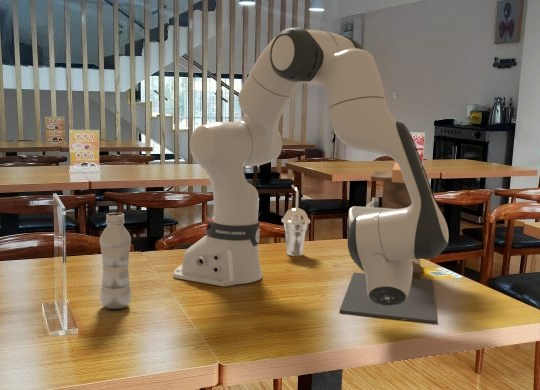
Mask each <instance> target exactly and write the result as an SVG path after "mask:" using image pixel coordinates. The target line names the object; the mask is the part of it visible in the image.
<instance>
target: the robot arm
mask: <svg viewBox="0 0 540 390" xmlns="http://www.w3.org/2000/svg"><path fill="white" fill-rule="evenodd" d="M374 58H375V57H374V56H373V55H372V54H371V53H370V52H369V51H367V50H365V49H364V48H363V46H362V45H361V44H360V43H359V42H358V41H356V40H355V39H354V38H352V37H349V36H348V35H347V36H346V35H340V34H337V33H335V32H331V31H327V30H316V29H304V28H302V27H291V28H285V29H283V30H281V31H280V32H278V33H277V34H276V35H275V37H274V38H273V39H272V40H271V41H270V42H269V43H268V44H267V45H266V47H264V50H263V51H262V52H261V53H260V54H259V57H258V58H257V60H256V61H255V62H254V64H253V67H252V68H251V70H250V72H249V74H248V76H247V77H246V79H245V80H244V84H243V85H242V87H241V88H240V90H239V93H238V96H237V99H238V104H239V105H238V106H239V108H240V109H241V111H242V112H243V116H242V118H240V120H237V121H214V122H210V123H206V124H202V125H199V126H197V127H196V128H195V129H194V130H193V132H192V134H191V136H190V140H189V150H190V154H191V155H192V158H193V160H194V161H195V162H196V163H197V164H198V165H199V166H201V168H203V170H204V171H205V173H206V175H207V176H208V179H209V181H210V184H211V189H212V194H213V218H212V219H210V220H209V222H207V223H206V225H204V229H203V230H205V231H206V232H205V233H206V235H204V236H203V237H201V238H200V239H199V240H198V241H196V242H194V244H192V245H191V246H189V247H188V248H187V250H186V251H185V252H184V255H183V258H182V264H180V265H179V266H177V267H176V268H175V269H174V270H173V275H172V276H173V277H174V278H175V279H178V280H179V279H180V280H186V281H192V282H196V283H202V284H207V285H212V286H213V285H214V286H219V287H230V286H235V285H241V284H243V285H244V284H249V283H253V282H254V283H255V282H257V281H260V280H261V279H262V278H263V276H264V275H263V272H262V267H261V263H260V255H259V243H260V239H261V238H260V234H261V229H260V222H259V220H258V219H259V192H258V190H257V188H256V187H255V186H254V185H253V184H251V183H249V182H248V181H247V178H246V175H245V172H244V167H252V166H255V167H256V166H262V165H265V164H268V163H271V162H273V161H275V160H277V159H278V158H279V156H280V155H281V152H282V148H283V138H282V134H281V133H280V130H278V129H279V128H278V127H279V123H280V121H281V117H282V115H283V113H284V111H285V110H286V108H287V106H288V104H289V103H290V101H291V99H292V98H293V95H294V94H295V93H296V91H297V88H298V87H299V85H300V83H302V84H306V85H311V86H313V85H314V86H323V87H324V89H325V91H326V94H327V102H328V103H327V104H328V109H329V110H328V111H329V115H330V121H331V125H332V129H333V132H334V135H335V136H336V137H337V139H338V140H339V141H340V142H342V143H343V144H344V145H345V146H348V147H349V148H352V149H354V150H358V151H362V152H367V153H368V152H369V153H374V154H380V155H384V156H387V157H390V158H391V159H393V161H395V162H397V163H398V165H399V167H400V170H401V173H402V175H403V178H404V181H405V184H406V187H407V190H408V192H409V195H410V198H411V201H412V204H411V205H410V206H409V207H407V208H401V209H390V208H382V207H379V205H380V204H379V203H380V201H379V197H371V201H370V202H368V203H367V204H366V205H365V206H356V205H354V206H351V207H350V208H349V209H348V232H347V248H348V253H349V256H350V257H351V260H352V261H353V262H354V263H355V265H356V266H358V268H359V269H360V270H362V271H363V273H364V274H365V276H366V285H367V294H368V297H369V299H370V300H371V301H372V302H374V303H376V304H379V305H382V306H392V305H398V304H401V303H403V302H404V301H405V300H406V299H407V297H408V295H409V292H410V287H411V282H412V274H413V265H412V262H411V261H412V259H420V260H423V259H424V260H426V259H428V260H429V259H435V258H438V256H439V255H440V254H441V253H442V252H443V251H444V250H445V249H446V248H447V246H448V245H449V237H450V236H449V228H448V224H447V222H446V218H445V217H444V215H443V213H442V211H441V209H440V208H439V205H438V203H437V200H436V197H435V195H434V193H433V189H432V187H431V183H430V181H429V178H428V176H427V175H426V174H427V172H426V169H425V167H424V165H423V162H422V158H421V157H420V153H419V150H418V148H417V146H416V144H415V140H414V138H413V135H412V133H411V132H410V130H409V129H408V127H407V126H406V124H405V123H403V122H401V121H398V120H396V119H395V118H394V117H393V115H392V114H391V112H390V110H389V109H388V105H387V100H386V96H385V95H386V94H385V90H384V86H383V81H382V78H381V75H380V72H379V69H378V66H377V63H376V60H375V59H374Z"/></svg>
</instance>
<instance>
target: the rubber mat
mask: <svg viewBox="0 0 540 390" xmlns="http://www.w3.org/2000/svg"><path fill="white" fill-rule="evenodd" d="M433 281H434V280H433V279H427V278H425V279H424V278H420V279H416V278H412V282H411V287H410V292H409V295H408V297H407V299H406V300H405V301H404V302H403V303H401V304H398V305H392V306H382V305H379V304H376V303H374V302H372V301H371V300H370V299H369V297H368V294H367V285H366V276H365V272H353V273H352V277H351V279H350V282H349V284H348V286H347V289H346V292H345V294H344V298H343V300H342V302H341V305H340V308H339V311H338V312H339V314H340V313H341V314H348V315H355V316H364V317H365V316H366V317H373V316H375V317H374V318H382V317H387V318H386V319H391V318H396V319H395V320H399V319H406V320H405V321H408V320H414V321H413V322H417V321H422V322H421V323H426V322H431V323H430V324H435V323H436V324H437V311H436V299H435V292H434V282H433Z"/></svg>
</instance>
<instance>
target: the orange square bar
mask: <svg viewBox="0 0 540 390" xmlns="http://www.w3.org/2000/svg"><path fill="white" fill-rule="evenodd" d="M391 172H392V182H400V183H405V181H404V178H403V175H402V173H401V170H400V167H399V165H398V163H397V162H396V161H395V163H394V165H393V168H392V171H391Z"/></svg>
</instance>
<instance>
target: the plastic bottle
mask: <svg viewBox="0 0 540 390" xmlns="http://www.w3.org/2000/svg"><path fill="white" fill-rule="evenodd" d="M105 217H106V218H105V219H106V220H105V224H106V227H105V228H104V230H103V231H102V233H101V235H100V236H99V246H100V253H101V260H102V262H101V263H102V279H101V280H102V281H101V288H100V292H99V293H100V295H99V298H100V303H101V304H102V306H103V307H104V308H106V309H111V310H117V309H119V310H120V309H124V308H126V307H128V306H129V304H130V303H131V299H132V296H133V295H132V294H133V293H132V287H131V284H130V274H129V263H130V261H129V260H130V251H131V243H132V237H131V234H130V233H129V231H128V229H126V227H125V226H124V224H125V214H124V213H123V212H110V213H106V215H105Z"/></svg>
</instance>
